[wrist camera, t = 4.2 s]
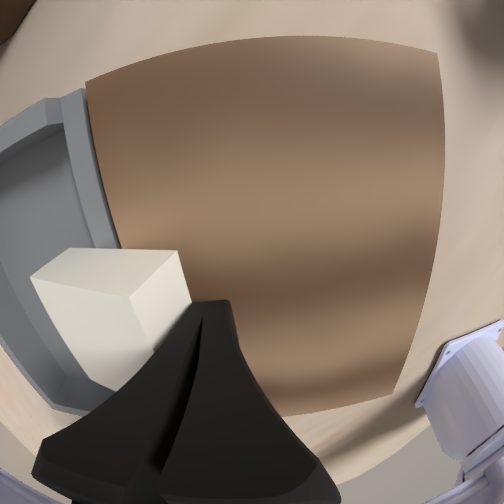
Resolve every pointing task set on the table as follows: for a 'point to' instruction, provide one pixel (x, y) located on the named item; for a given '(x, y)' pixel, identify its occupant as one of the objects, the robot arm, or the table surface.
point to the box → (48, 238)
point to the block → (113, 306)
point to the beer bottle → (12, 16)
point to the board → (287, 197)
